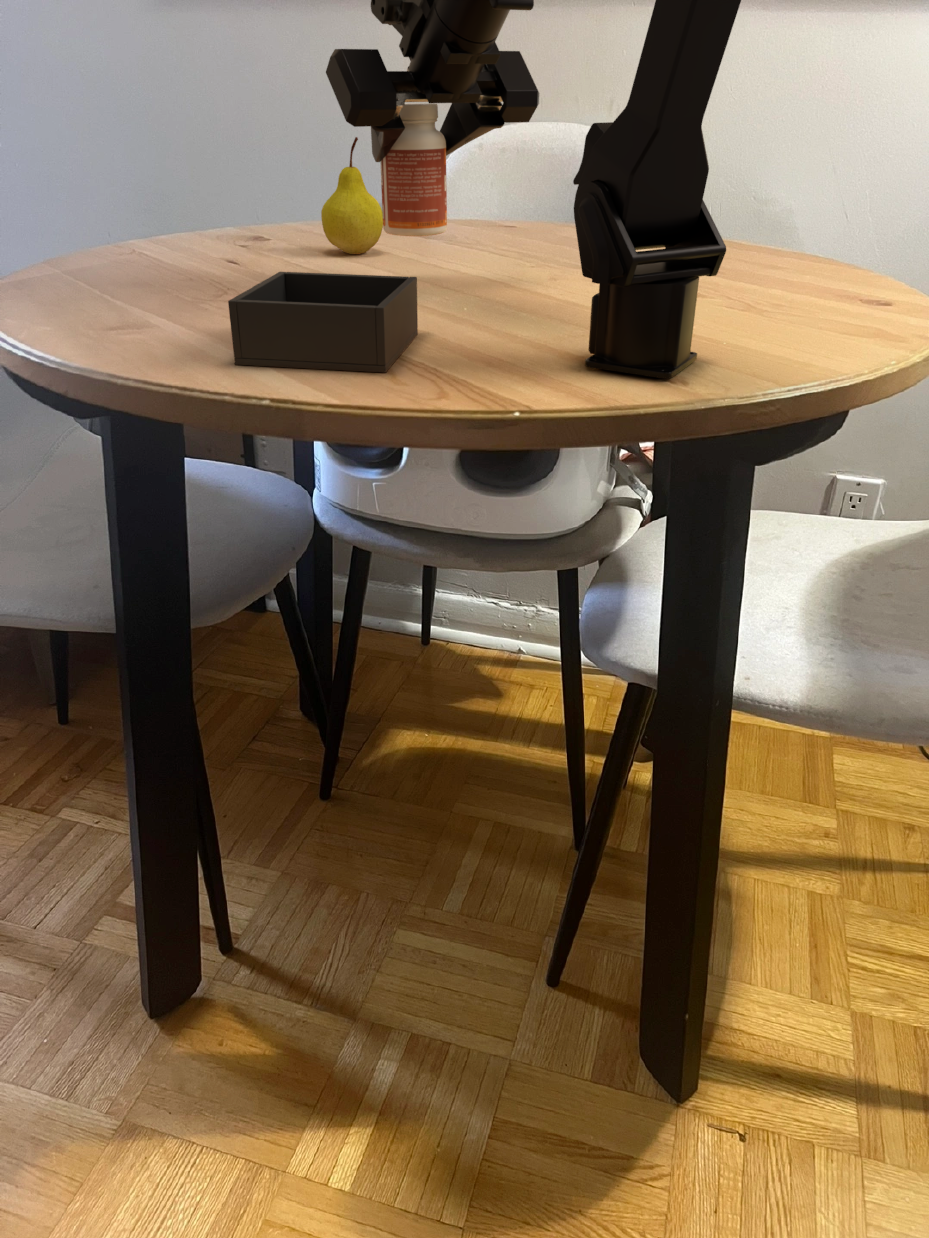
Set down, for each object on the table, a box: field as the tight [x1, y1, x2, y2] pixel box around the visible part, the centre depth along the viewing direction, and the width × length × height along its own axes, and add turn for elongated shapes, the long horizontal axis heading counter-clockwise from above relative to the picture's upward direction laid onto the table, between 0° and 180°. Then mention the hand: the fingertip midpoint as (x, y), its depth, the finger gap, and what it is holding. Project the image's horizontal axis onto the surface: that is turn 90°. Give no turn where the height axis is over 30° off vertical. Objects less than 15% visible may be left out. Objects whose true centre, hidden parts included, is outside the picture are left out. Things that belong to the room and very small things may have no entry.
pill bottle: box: [379, 103, 448, 237], centre depth 93 cm, size 6×6×11 cm
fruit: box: [320, 136, 384, 255], centre depth 110 cm, size 7×7×12 cm
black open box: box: [227, 271, 419, 374], centre depth 74 cm, size 11×11×4 cm
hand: (406, 157), depth 93 cm, fingers closed on pill bottle, 6 cm apart
